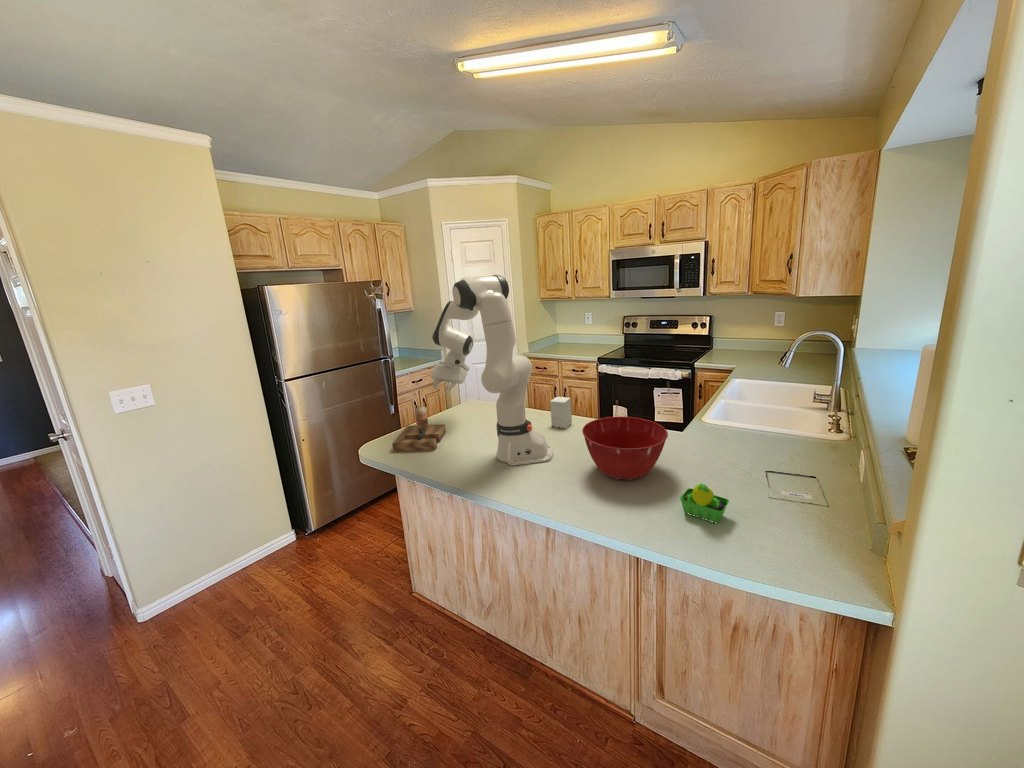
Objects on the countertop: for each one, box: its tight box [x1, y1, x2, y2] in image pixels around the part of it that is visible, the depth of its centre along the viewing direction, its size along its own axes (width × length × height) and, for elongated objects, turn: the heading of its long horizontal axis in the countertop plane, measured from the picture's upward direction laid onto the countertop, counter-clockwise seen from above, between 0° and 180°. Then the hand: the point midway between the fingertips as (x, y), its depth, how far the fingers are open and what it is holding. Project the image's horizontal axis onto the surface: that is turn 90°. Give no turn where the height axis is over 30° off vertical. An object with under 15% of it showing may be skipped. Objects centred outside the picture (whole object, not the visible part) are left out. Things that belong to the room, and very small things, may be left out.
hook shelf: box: [391, 423, 446, 453], centre depth 186 cm, size 18×20×8 cm
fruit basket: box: [679, 483, 730, 524], centre depth 118 cm, size 11×9×11 cm
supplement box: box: [549, 396, 573, 429], centre depth 193 cm, size 7×7×13 cm
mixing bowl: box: [581, 416, 669, 480], centre depth 146 cm, size 28×28×16 cm
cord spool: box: [414, 406, 429, 431], centre depth 190 cm, size 5×5×10 cm
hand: (441, 389), depth 195 cm, fingers open, 8 cm apart
